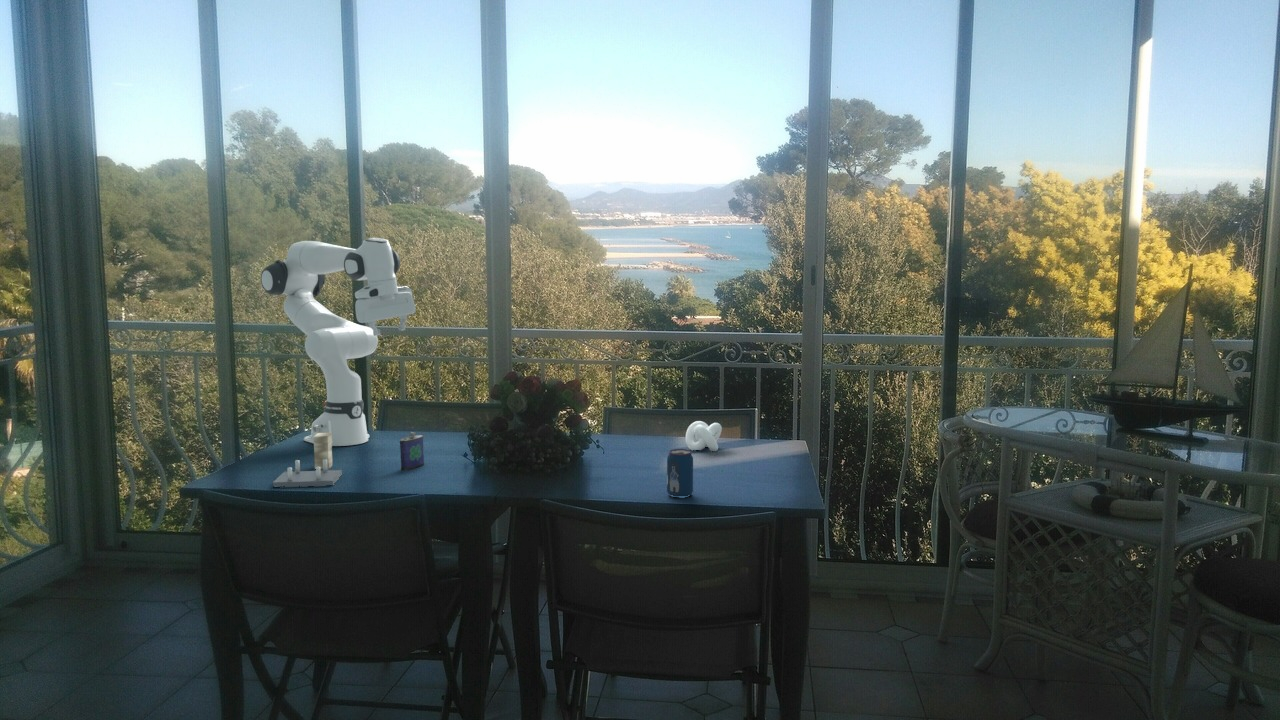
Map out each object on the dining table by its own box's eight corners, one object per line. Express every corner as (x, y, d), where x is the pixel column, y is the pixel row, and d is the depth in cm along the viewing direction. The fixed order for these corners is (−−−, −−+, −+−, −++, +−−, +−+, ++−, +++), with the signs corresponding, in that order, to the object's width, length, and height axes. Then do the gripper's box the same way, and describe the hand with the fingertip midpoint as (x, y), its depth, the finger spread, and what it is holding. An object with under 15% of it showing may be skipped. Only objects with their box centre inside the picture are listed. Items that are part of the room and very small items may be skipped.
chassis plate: (273, 487, 253) (272, 469, 253) (284, 476, 265) (283, 459, 265) (333, 485, 255) (332, 468, 255) (341, 475, 267) (341, 458, 266)
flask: (419, 463, 282) (418, 428, 280) (427, 464, 280) (426, 429, 279) (398, 469, 273) (397, 434, 272) (406, 471, 272) (405, 435, 271)
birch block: (315, 469, 274) (313, 436, 272) (318, 465, 279) (317, 433, 277) (328, 469, 274) (327, 436, 273) (332, 465, 279) (331, 432, 278)
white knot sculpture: (680, 452, 296) (680, 425, 295) (690, 444, 307) (690, 418, 306) (715, 455, 293) (715, 427, 291) (723, 447, 304) (723, 420, 303)
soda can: (691, 491, 249) (692, 448, 248) (694, 499, 242) (694, 454, 241) (666, 492, 249) (666, 448, 248) (667, 499, 242) (667, 454, 241)
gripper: (404, 285, 300) (410, 327, 303) (349, 293, 285) (356, 338, 287) (416, 284, 296) (422, 327, 299) (361, 293, 281) (368, 338, 283)
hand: (389, 332), depth 293 cm, fingers open, 8 cm apart
